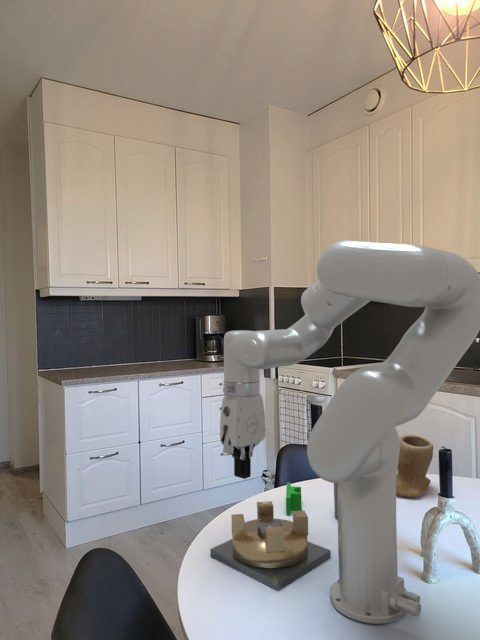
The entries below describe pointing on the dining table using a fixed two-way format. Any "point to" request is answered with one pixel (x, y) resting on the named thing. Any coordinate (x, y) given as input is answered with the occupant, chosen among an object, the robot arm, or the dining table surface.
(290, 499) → the pipe clamp
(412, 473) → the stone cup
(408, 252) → the robot arm
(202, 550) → the dining table surface
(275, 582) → the mounting plate
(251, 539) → the ring nut
